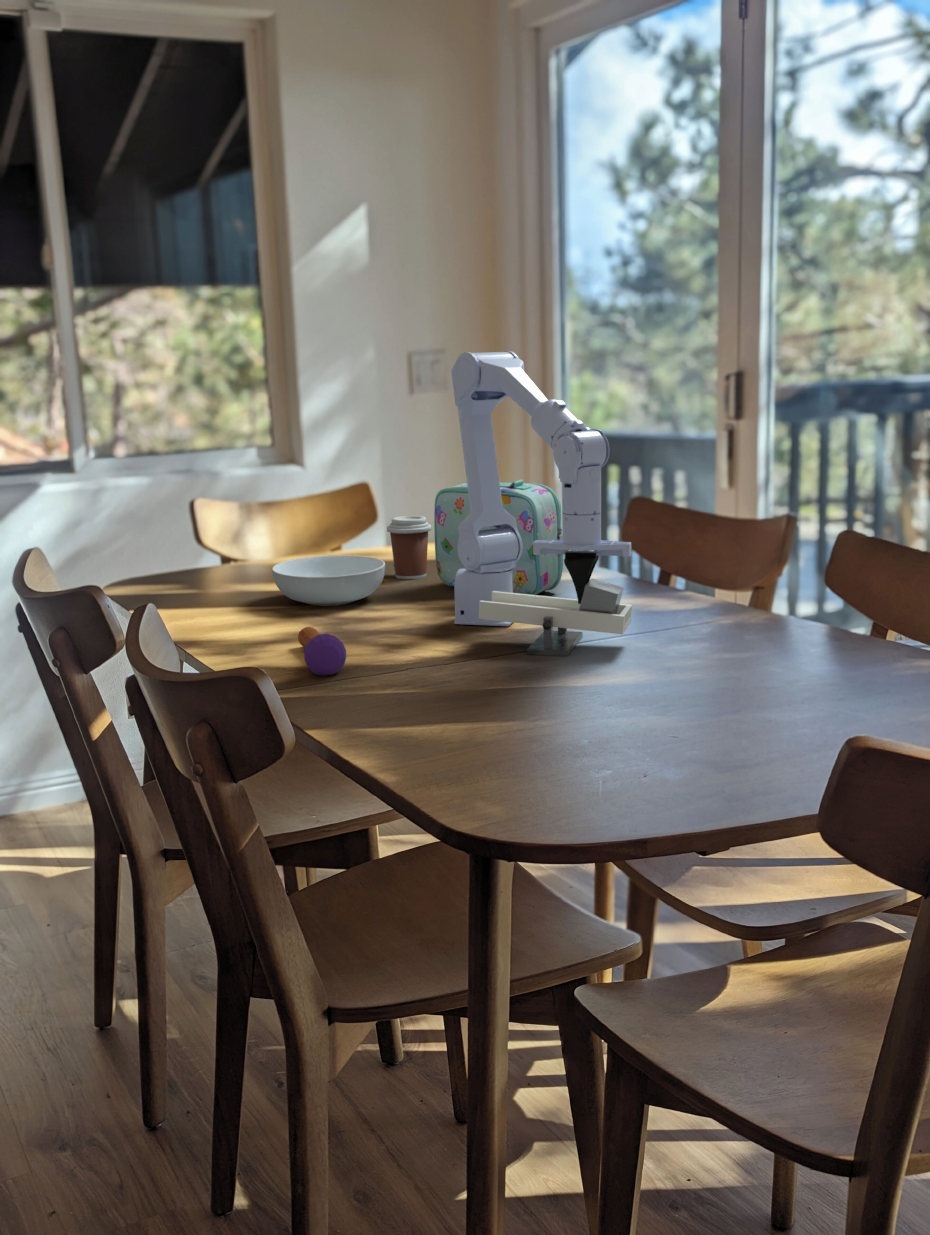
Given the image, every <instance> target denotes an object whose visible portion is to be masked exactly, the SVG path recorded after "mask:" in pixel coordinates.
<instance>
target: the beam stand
mask: <svg viewBox="0 0 930 1235" xmlns="http://www.w3.org/2000/svg"><path fill="white" fill-rule="evenodd" d="M542 629H543V632H542V633H541V634H540V635H539V636H538V637H537V638H536V639H535V640H533V642H532V643H531V644H530V645H529V647H528V648H527V650H526V651H527V652H526V654H527V655H537V656H557V657H559V656H560V657H568V656H569V655H570V653H571V652H572V651H573V649H574V648H575V647H576V645H577V644H578V643H579V642H580V640H581V639H582V638H583V631H571V630H567V629H568V628H559V627H557V630H554V627H553V617H544V618H543V626H542Z"/></svg>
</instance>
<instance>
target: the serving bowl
mask: <svg viewBox="0 0 930 1235" xmlns="http://www.w3.org/2000/svg"><path fill="white" fill-rule="evenodd" d="M385 572H386V563H385V561H384V560H382V559H380V558H377V557H372V556H365V555H354V554H353V555H349V554H338V555H335V554H334V555H330V554H329V555H315V556H306V557H299V558H294V559H293V558H292V559H290V560H285V561H282V562H278V563H276V564H275V565H273V566H272V568H271V573H272V577H273V580H274V583H275V585H276V587H277V589H278V590H279V591H280V593H282V594H283V595H284V596H285V597H287V598H289V599H290V600H294V601H295V602H300V603H304V604H308V605H311V606H317V605H318V606H321V607H329V606H330V607H332V606H342V605H343V606H344V605H348V604H351V603H353V602H355V601H358V600H362V599H364V598H366V597H368V596H370V595H372V594H373V593H374V592H375V591H377V589H379V587H380V586H381V584H382V583H383V580H384V577H385Z"/></svg>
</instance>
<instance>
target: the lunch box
mask: <svg viewBox="0 0 930 1235" xmlns="http://www.w3.org/2000/svg"><path fill="white" fill-rule="evenodd" d="M499 482H500V491H501V499H502V507H503V509H504V510H505V511H506V512H508V513H509V514H510V515H512V516H513V517H514V518H515V519H516V525H517V530H518V532H519V534H520V536H521V539H522V544H523V549H522V554H521V557H520V559H519V560H518V561H517V562H516V567H515V568H512V587H513V593H519V594H529V595H538V594H540V593H543V592H545V591H550V590H551V591H552V590H554V589H556V588H557V587H558V586H559V584H560V582H561V579H562V575H563V569H564V555H561V554H540V555H533V542H534V541H536V540H563V528H562V506H561V501H560V499H559V497H558V495H557V494H556V492H555V491H554V490H553V489H552V488H551V487H549V486H547V485H545V484H540V483H534V482H533V483H531V482H528V483H527V482H524V479H522V478H521V479H519V480H517V481H513V482H501V481H499ZM433 511H434V513H433V514H434V517H433V519H434V522H433V523H434V554H435V555H434V557H435V567H436V571H437V575H438V577H439V579H440V580H441V581H442V583H444V584H445V585H446V586H448V587H449V586H450V587H454V585H455V577H456V573H457V571H458V570H459V569H465V567H464V565H463V564H462V563H461V561H460V559H459V556H458V551H457V546H458V541H459V530H458V526H459V525H460V523H461V522H462V521H463V520H464V519H465V518H466V517H467V516H468V515H469V514H470V513H471V510H470V502H469V494H468V486H467V481H466V482H463V483H461V484H458V485H455V486H449V487H444V488H442V489H440V490H439V491H437V493H436V495H435V499H434V510H433ZM489 529H496V528H495V527H494V526H488V527H483V528H481V529H480V530H479V531H481V530H489Z"/></svg>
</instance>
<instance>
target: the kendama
mask: <svg viewBox="0 0 930 1235" xmlns="http://www.w3.org/2000/svg"><path fill="white" fill-rule="evenodd" d="M297 639H298V643H299V645H301V646H302V647H303V648H304V651H303V659H304V660H303V661H304V663H305V664H306V666H307V668H308V669H309V670H310V671H311V672H312V673H313V674H315V675H318V676H321V677H326V676H333V675H334V674H336V673H339V672H340V670H341V669H342V668H343V667H344V666H345V663H346V659H347V649H346V647H345V644H344V643H343V642H342V640H340V639H339V638H338V637H337V636H336V635H333V634H329V633H321V634H320V633H319V632H318V630H317V629H316V628H314V627H311V626H306V627H303V628H302V629H301V630H300V631H299V632H298V635H297Z"/></svg>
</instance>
